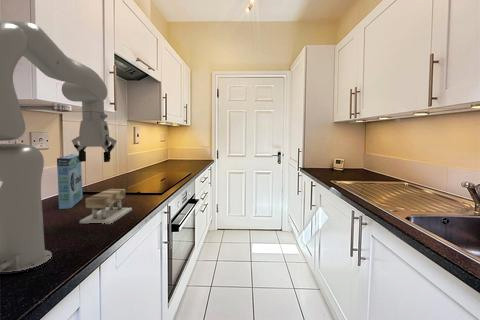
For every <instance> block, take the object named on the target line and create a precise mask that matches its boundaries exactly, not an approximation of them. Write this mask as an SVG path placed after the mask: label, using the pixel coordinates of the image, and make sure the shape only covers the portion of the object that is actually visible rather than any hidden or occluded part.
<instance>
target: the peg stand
mask: <svg viewBox="0 0 480 320" xmlns="http://www.w3.org/2000/svg"><path fill="white" fill-rule="evenodd" d="M116 205H117V207H114V203H113V204H111V205H109V206H107V207H105V208H100V210H98V208H91V214H90V215H88V216H86V217H84V218H81V219H80V220H79V224H89V223H102V224H101V225H112V224H113V223H114V221H115V222H116V221H118V220H119V219H121V218H122V217H124V216H125V215H126V214H128V213H130V212H131V211H133V208H132V207H122V199H121V200H119V201H117V202H116ZM104 223H105V224H104ZM111 223H112V224H111Z"/></svg>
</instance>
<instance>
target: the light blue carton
mask: <svg viewBox="0 0 480 320" xmlns="http://www.w3.org/2000/svg"><path fill="white" fill-rule="evenodd" d="M56 166H57V167H56V168H57V169H56V170H57V191H58V209H59V210H69V209H70V208H71V209H72V208H74V206H75V205H76V204H78V203H79V202H80V201H81V200H82V199H83V196H84V195H83V176H82V175H83V174H82V171H83V170H82V162H80V161H79V153H78V154H74V153H72V154H69V155H65V156H62V157H59V158H58V157H57V158H56Z"/></svg>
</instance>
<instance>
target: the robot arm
mask: <svg viewBox="0 0 480 320" xmlns="http://www.w3.org/2000/svg"><path fill="white" fill-rule="evenodd" d="M22 57H24V58H25V59H26V60H28V61H29V62H30V63H31V64H32V65H33V66H34V67H36V68H37V69H38V70H39V71H40V72H41V74H43V75H44V76H45V77H48V78H51V79H53V80H56V81H60V82H63V84H62V85H61V93H62V95H63V96H64V98H65V99H67V100H68V101H70V102H76V103H77V102H80V103H81V112H82V113H81V115H82V120H80V123H79V124H80V125H79V132H78V133H79V134H78V136H76V137H75V138H73V139H71V143H72V144H73V147H74V148H75V149H76V151H77V152H78V154H79V161H80V162H81V163H83V162H86V161H87V155H86V153H87V151H86V149H87V148H94V147H95V148H100V147H101V148H102V149H103V150H104V152H103V162H104V163H110V161H111V152H112V150H114V148H115V147H116V144H117V142H118V141H117V139H114V138H113V137H111V136H110V130H109V125H108V121H106V119H107V118H108V114H106V113H105V100H106V99H107V97H108V87H107V85H106V83H105V82H104V80H103V79H102V78H101V76H100V75H99V74H98V73H97V72H96V71H95V70H94V69H92V68H90V67H89V66H87V65H85V64H83V63H82V62H79V61H77V60H75V59H72V58H70V57H68V56H67V55H66V54H65V52H63V50H61V48H59V47H58V45H57V44H56V43H55V41H54V40H53V39H51V37H50V36H49V35H48V34H47V33H46V32H45V31H44V30H43V29H42V28H41V27H40V26H38V25H37V24H35V23H34V22H33V23H32V22H29V21H15V20H13V21H11V20H10V21H6V20H0V142H2V141H3V142H5V141H14V140H17V139H19V138H21V137H23V135H24V134H25V132H26V123H25V118H24V116H23V112H22V109H21V105H20V102H19V99H18V96H17V92H16V88H15V84H14V78H13V77H14V71H15V68H16V66H17V64H18V63H19V61H20V60H21V58H22ZM78 142H79V143H78ZM44 164H45V160H44V156H43V153H42V152H41V151H40V150H39V149H38V148H36V147H35V146H34V145H30V144H24V143H23V144H22V143H0V182H2V184H1V186H0V272H12V271H21V270H26V269H29V268H33V267H36V266H39V265H41V264H43V263H45V262H47V261H48V260H49V259H51V257H52V258H53V253H52V252H51V251H50V250H48V249H46V248H45V235H44V234H45V232H44V231H45V230H44V218H43V217H44V215H43V203H42V179H43V177H42V176H43V172H44V166H45V165H44ZM51 260H52V259H51Z"/></svg>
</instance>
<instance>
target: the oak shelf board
mask: <svg viewBox="0 0 480 320" xmlns="http://www.w3.org/2000/svg"><path fill="white" fill-rule="evenodd" d="M124 198H126V189H125V188H109V189H106V190H103V191H101V192H98V193H95V194H93V195H91V196H88V197H86V198H85V208H86V209H92V208H97V209H101V208H105V207H109V205H111V204H113V205H114V204H115V203H117V201H119V200H121V201H122V200H123V199H124Z"/></svg>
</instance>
